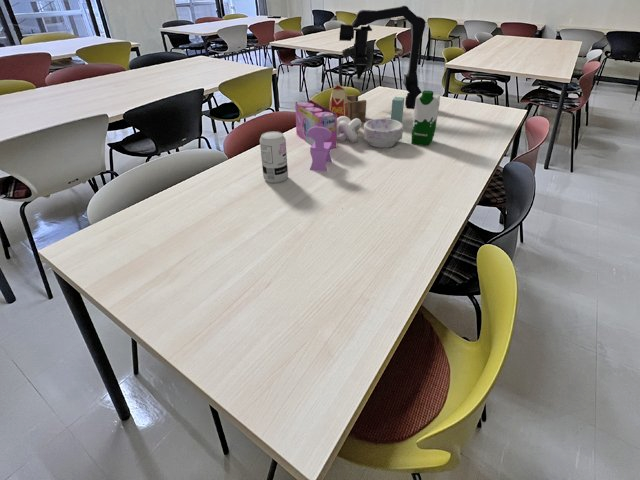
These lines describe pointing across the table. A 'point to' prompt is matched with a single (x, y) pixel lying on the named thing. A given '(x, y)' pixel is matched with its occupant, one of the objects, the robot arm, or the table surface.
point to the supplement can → (274, 157)
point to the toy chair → (320, 147)
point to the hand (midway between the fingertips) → (358, 76)
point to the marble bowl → (383, 132)
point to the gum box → (315, 120)
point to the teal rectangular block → (397, 109)
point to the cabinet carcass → (356, 108)
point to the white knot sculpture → (347, 129)
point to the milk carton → (339, 101)
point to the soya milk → (425, 118)
